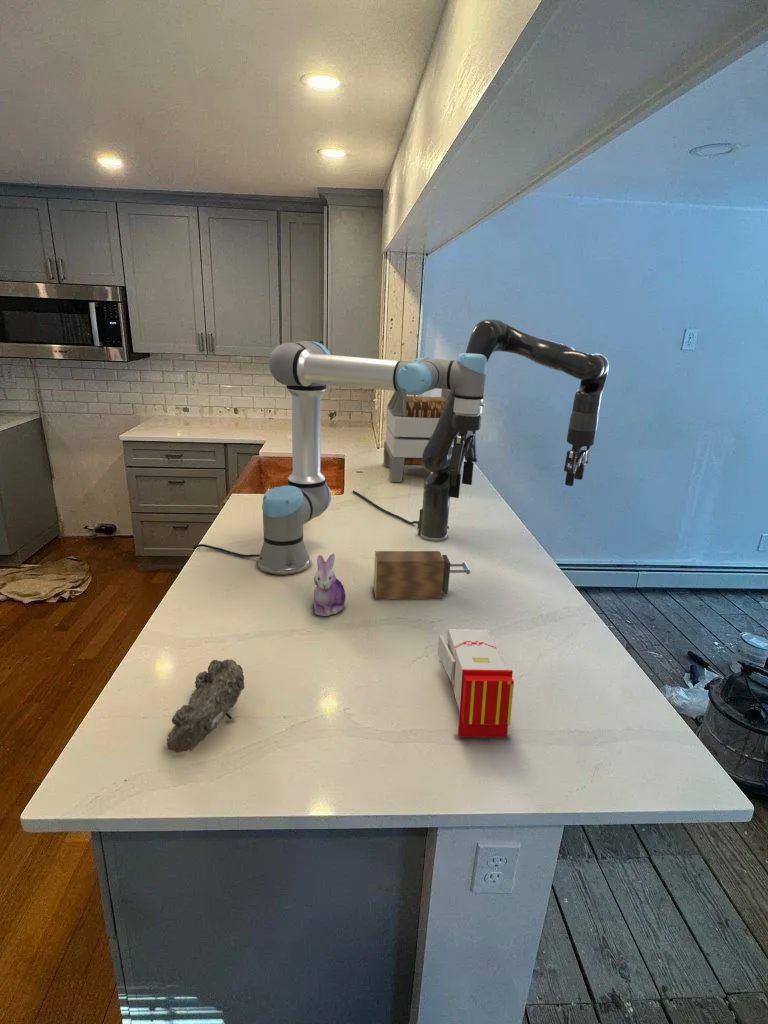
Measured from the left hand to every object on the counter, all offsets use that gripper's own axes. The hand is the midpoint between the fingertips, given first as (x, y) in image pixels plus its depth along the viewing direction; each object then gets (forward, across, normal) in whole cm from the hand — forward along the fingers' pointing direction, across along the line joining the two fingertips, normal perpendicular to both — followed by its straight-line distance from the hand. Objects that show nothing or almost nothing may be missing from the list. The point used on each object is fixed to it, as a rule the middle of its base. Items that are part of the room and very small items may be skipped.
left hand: (460, 490), depth 157 cm
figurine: (+28, -31, +24) cm, 48 cm away
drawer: (+27, -11, +4) cm, 30 cm away
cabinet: (+28, -13, +9) cm, 32 cm away
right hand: (-1, +21, -28) cm, 35 cm away
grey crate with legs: (+28, +105, +47) cm, 118 cm away
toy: (+28, -48, -18) cm, 59 cm away
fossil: (+28, -77, +25) cm, 86 cm away
